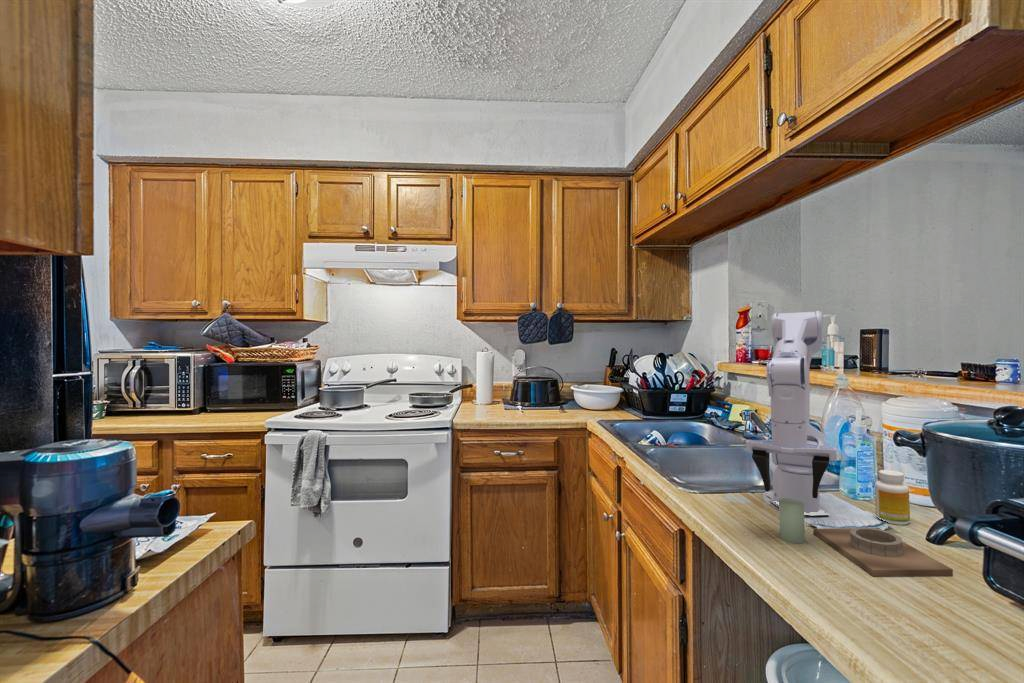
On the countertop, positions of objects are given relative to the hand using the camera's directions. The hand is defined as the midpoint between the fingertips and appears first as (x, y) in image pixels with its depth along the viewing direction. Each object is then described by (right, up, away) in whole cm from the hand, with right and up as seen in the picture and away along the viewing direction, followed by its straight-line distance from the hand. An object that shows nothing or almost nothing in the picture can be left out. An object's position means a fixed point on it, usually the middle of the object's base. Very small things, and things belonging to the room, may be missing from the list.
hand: (790, 493), depth 88 cm
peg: (0, -9, 0) cm, 9 cm away
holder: (+11, -8, -7) cm, 15 cm away
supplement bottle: (+25, -8, +7) cm, 27 cm away
